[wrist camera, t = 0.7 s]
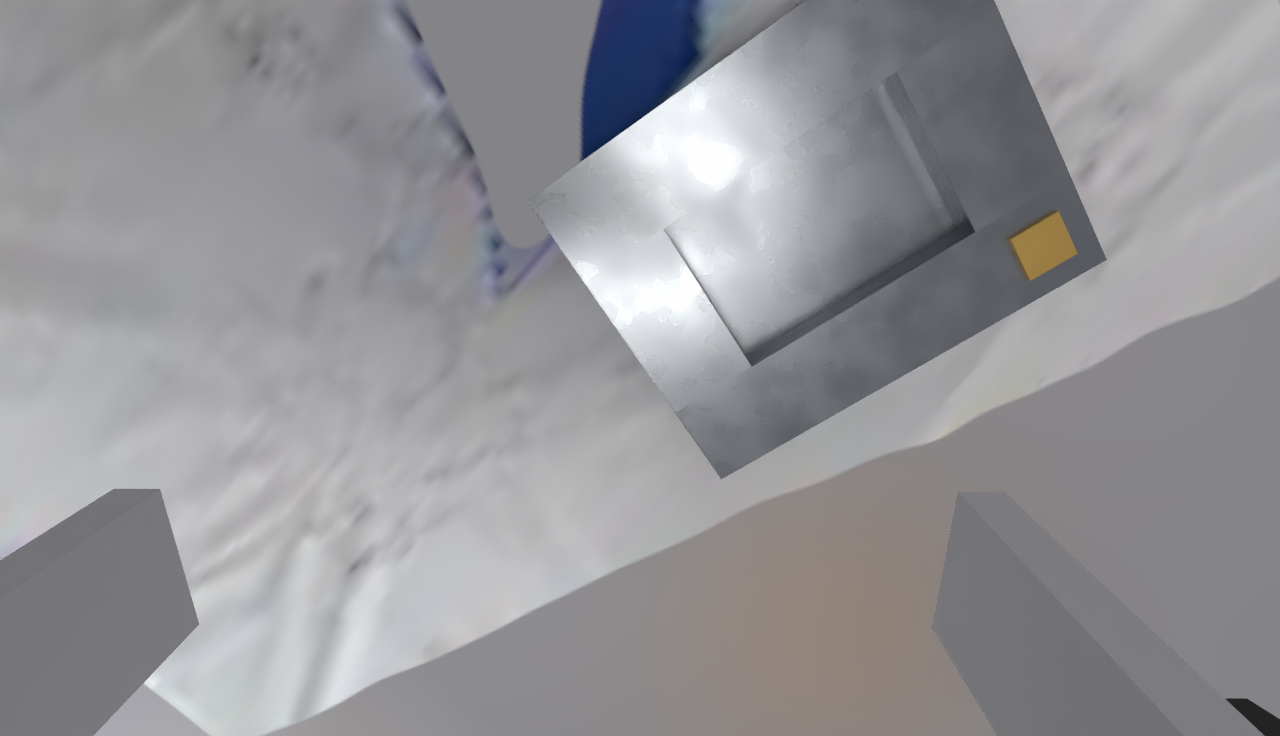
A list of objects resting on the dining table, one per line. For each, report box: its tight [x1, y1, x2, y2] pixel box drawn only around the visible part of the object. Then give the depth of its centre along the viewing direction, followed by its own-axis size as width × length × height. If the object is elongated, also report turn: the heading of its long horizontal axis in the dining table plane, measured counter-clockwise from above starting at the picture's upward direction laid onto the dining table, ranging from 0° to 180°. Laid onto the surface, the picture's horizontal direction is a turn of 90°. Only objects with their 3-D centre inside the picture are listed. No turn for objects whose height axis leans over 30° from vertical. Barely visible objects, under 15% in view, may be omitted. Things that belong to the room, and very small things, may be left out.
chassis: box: [527, 0, 1106, 479], centre depth 31 cm, size 18×22×3 cm
